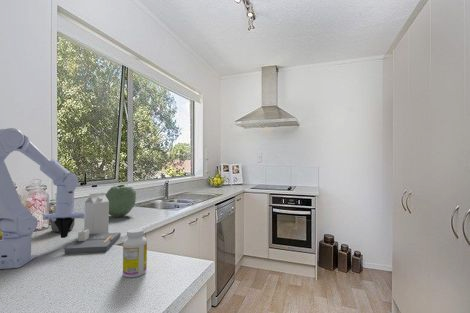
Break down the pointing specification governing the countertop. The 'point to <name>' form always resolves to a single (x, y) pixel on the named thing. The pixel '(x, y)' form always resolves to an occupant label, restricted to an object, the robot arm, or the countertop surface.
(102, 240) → the console board
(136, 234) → the supplement bottle
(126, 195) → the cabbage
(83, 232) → the fader knob
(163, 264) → the countertop surface
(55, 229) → the smart speaker
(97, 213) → the milk carton
